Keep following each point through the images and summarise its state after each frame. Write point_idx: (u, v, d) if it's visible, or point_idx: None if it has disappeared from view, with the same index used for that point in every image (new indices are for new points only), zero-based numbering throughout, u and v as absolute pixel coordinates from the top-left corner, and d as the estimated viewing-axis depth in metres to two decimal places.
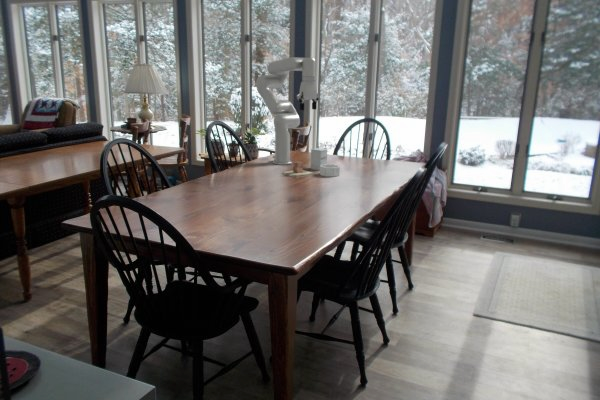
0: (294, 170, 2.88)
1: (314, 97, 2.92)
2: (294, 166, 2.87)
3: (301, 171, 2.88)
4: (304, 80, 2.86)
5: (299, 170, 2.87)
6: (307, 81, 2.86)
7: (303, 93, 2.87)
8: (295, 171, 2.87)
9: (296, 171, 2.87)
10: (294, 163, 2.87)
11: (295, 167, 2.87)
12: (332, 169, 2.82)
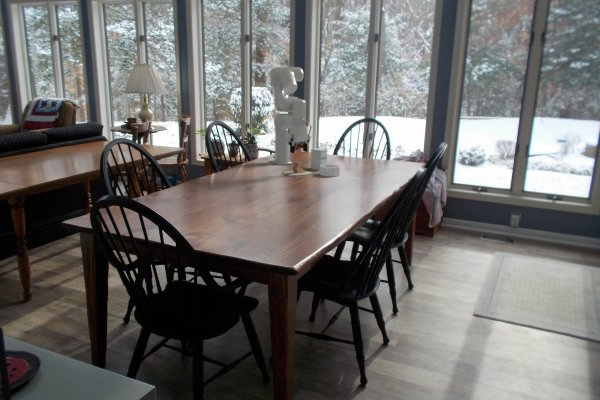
0: (294, 170, 2.88)
1: (305, 139, 2.84)
2: (294, 166, 2.87)
3: (301, 171, 2.88)
4: (294, 122, 2.78)
5: (299, 170, 2.87)
6: (297, 124, 2.77)
7: (293, 136, 2.79)
8: (295, 171, 2.87)
9: (296, 171, 2.87)
10: (294, 163, 2.87)
11: (295, 167, 2.87)
12: (332, 169, 2.82)
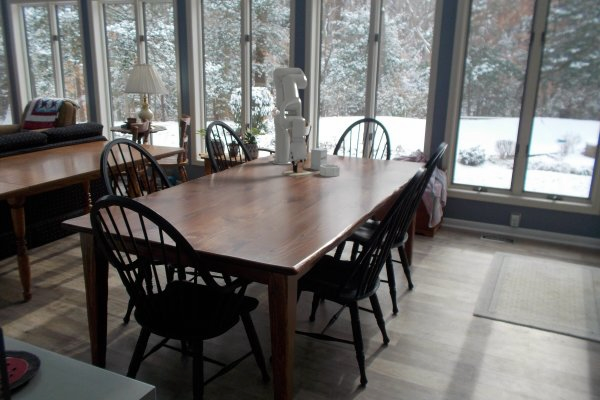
0: None
1: (304, 157, 2.87)
2: None
3: (301, 171, 2.88)
4: (294, 140, 2.81)
5: (299, 170, 2.87)
6: (297, 142, 2.80)
7: (293, 156, 2.82)
8: None
9: None
10: None
11: None
12: (332, 169, 2.82)
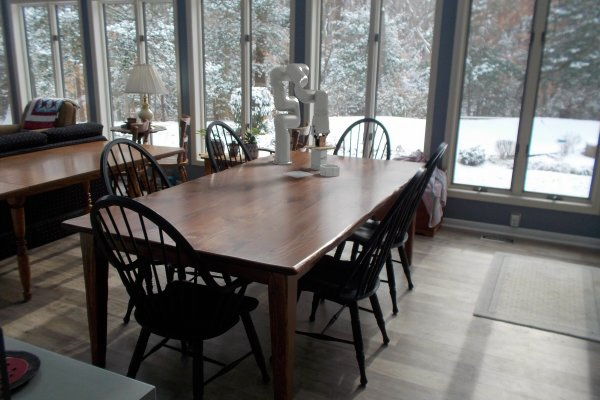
0: None
1: (327, 130, 2.82)
2: None
3: (323, 145, 2.83)
4: (316, 114, 2.77)
5: (321, 144, 2.82)
6: (319, 115, 2.76)
7: (315, 130, 2.78)
8: None
9: None
10: None
11: None
12: (332, 169, 2.82)
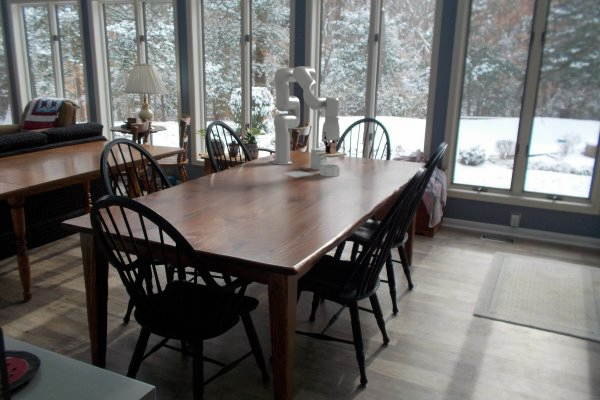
0: None
1: (337, 137, 2.84)
2: None
3: (334, 152, 2.84)
4: (327, 120, 2.78)
5: (332, 151, 2.83)
6: (330, 122, 2.77)
7: (326, 136, 2.79)
8: None
9: None
10: None
11: None
12: (332, 169, 2.82)
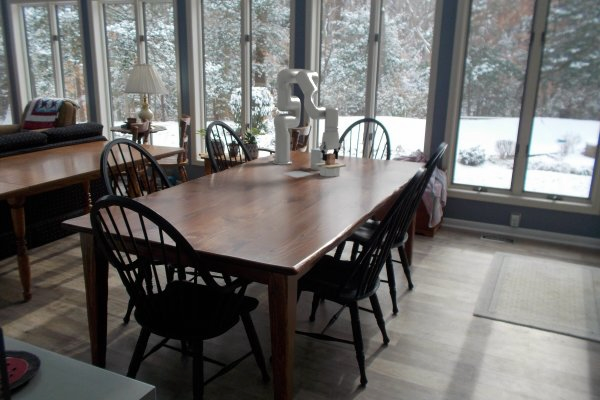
0: (326, 162, 2.87)
1: (336, 147, 2.85)
2: None
3: (333, 163, 2.86)
4: (327, 130, 2.79)
5: (331, 162, 2.85)
6: (330, 131, 2.79)
7: (325, 144, 2.80)
8: (327, 163, 2.86)
9: (328, 163, 2.85)
10: None
11: (327, 159, 2.85)
12: (332, 169, 2.82)
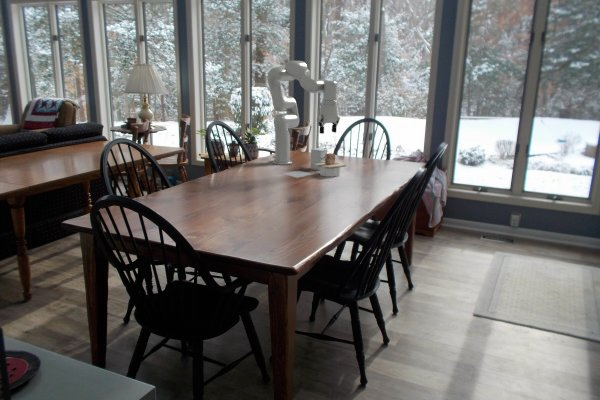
0: (326, 162, 2.87)
1: (334, 120, 2.87)
2: (326, 158, 2.86)
3: (333, 163, 2.86)
4: (325, 103, 2.81)
5: (331, 162, 2.85)
6: (328, 104, 2.80)
7: (323, 116, 2.82)
8: (327, 163, 2.86)
9: (328, 163, 2.85)
10: (326, 155, 2.86)
11: (327, 159, 2.85)
12: (332, 169, 2.82)
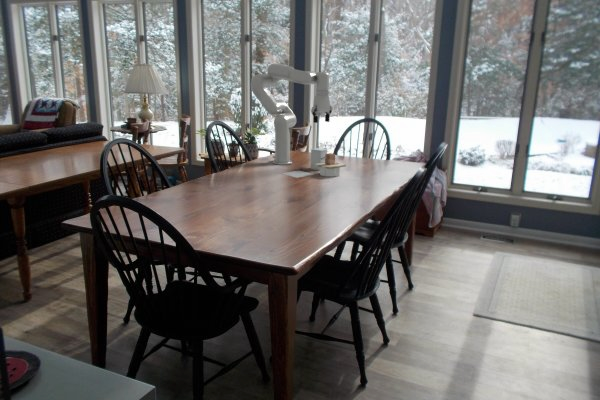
0: (326, 162, 2.87)
1: (327, 110, 3.00)
2: (326, 158, 2.86)
3: (333, 163, 2.86)
4: (318, 94, 2.95)
5: (331, 162, 2.85)
6: (321, 95, 2.94)
7: (317, 106, 2.95)
8: (327, 163, 2.86)
9: (328, 163, 2.85)
10: (326, 155, 2.86)
11: (327, 159, 2.85)
12: (332, 169, 2.82)
